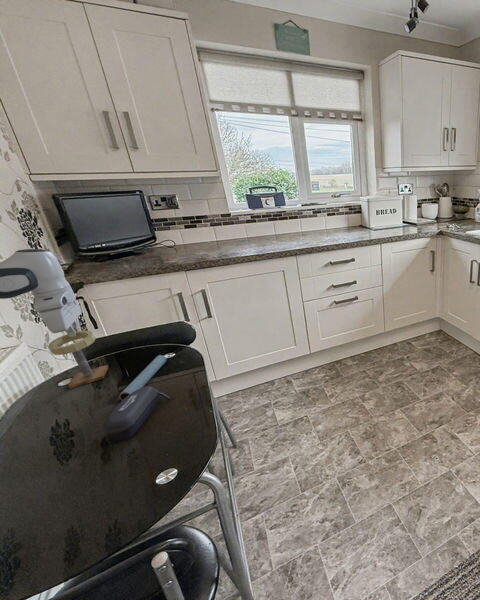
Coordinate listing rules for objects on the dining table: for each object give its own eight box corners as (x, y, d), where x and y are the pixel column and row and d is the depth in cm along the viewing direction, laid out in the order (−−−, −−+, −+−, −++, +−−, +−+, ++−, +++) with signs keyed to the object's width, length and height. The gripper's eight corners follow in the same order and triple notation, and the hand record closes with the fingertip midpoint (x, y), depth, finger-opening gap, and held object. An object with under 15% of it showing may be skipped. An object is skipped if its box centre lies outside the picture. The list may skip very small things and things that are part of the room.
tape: (47, 358, 102) (43, 352, 101) (57, 342, 110) (53, 337, 109) (92, 347, 107) (88, 341, 106) (97, 333, 116) (94, 327, 114)
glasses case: (131, 402, 96) (132, 380, 94) (171, 406, 100) (174, 384, 98) (91, 448, 80) (92, 421, 78) (142, 450, 83) (143, 425, 81)
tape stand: (69, 389, 108) (50, 354, 103) (76, 377, 115) (59, 343, 110) (104, 379, 112) (87, 345, 107) (109, 368, 119) (93, 335, 114)
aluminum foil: (133, 400, 99) (129, 391, 98) (109, 405, 98) (104, 395, 97) (168, 362, 120) (165, 354, 119) (148, 365, 119) (144, 357, 118)
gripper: (53, 291, 114) (71, 327, 119) (31, 308, 97) (52, 349, 102) (77, 287, 117) (93, 322, 122) (59, 303, 100) (79, 342, 105)
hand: (74, 334), depth 112 cm, fingers closed on tape, 1 cm apart
